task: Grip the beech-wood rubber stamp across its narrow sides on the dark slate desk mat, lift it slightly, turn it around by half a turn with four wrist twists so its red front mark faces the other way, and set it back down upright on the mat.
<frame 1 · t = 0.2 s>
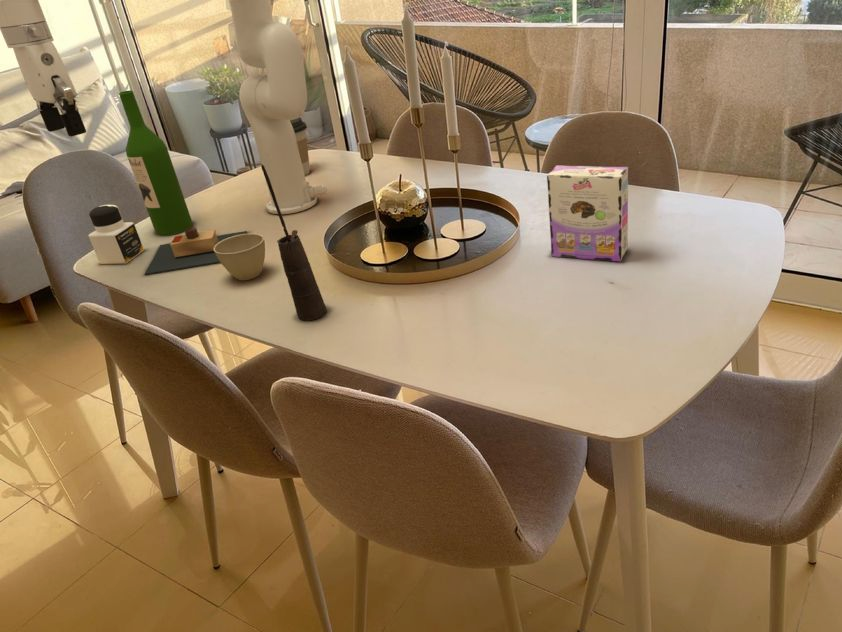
hand: (67, 132, 133), 31 cm above the table, tool pointing down, fingers open, 9 cm apart
stamp: (194, 240, 154), on the desk mat
candy box: (589, 254, 134), on the table
wine bottle: (174, 229, 171), on the table
desk mat: (198, 252, 156), on the table
beige bowl: (248, 275, 143), on the table
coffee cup: (297, 174, 199), on the table
medicine bottle: (122, 258, 159), on the table
butter churn: (314, 311, 126), on the table
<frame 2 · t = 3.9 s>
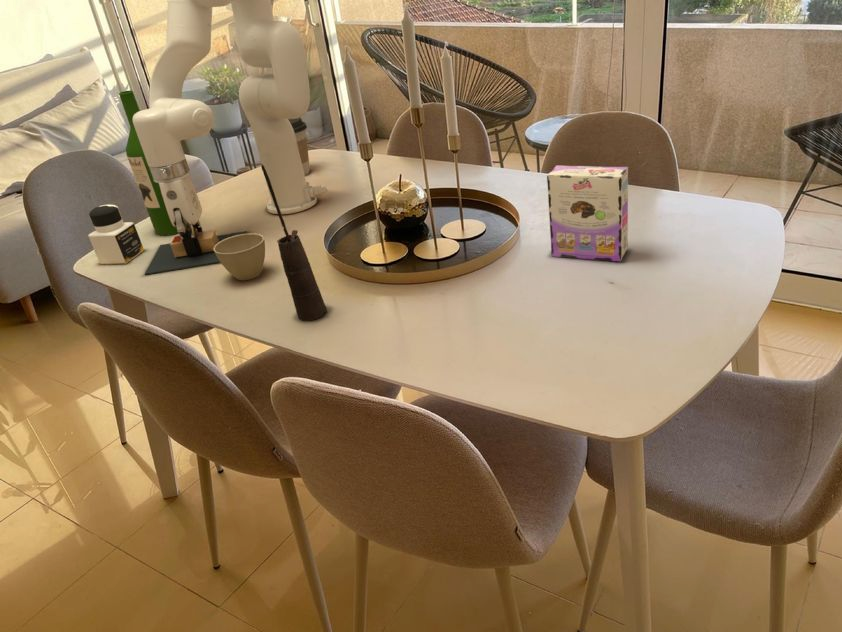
hand: (197, 248, 155), 1 cm above the table, tool pointing down, fingers closed on stamp, 5 cm apart
stamp: (194, 240, 154), on the desk mat, touching gripper
everything else where it was.
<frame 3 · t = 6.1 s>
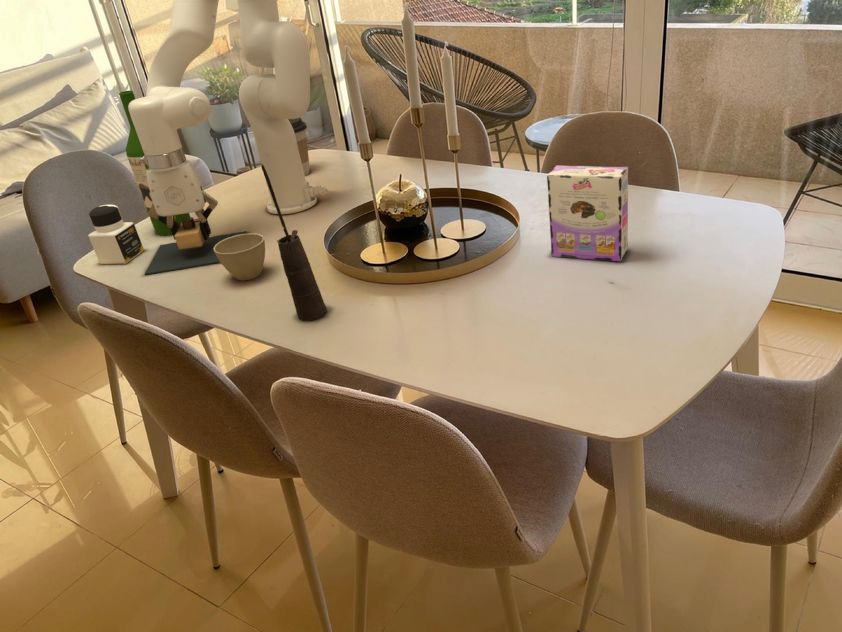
hand: (194, 238, 154), 3 cm above the table, tool pointing down, fingers closed on stamp, 5 cm apart
stamp: (191, 230, 153), point 5 cm above the table, touching gripper
everything else where it was.
when the fingers open (1 cm above the table, at t = 8.5 s): stamp stays where it is, resting on desk mat.
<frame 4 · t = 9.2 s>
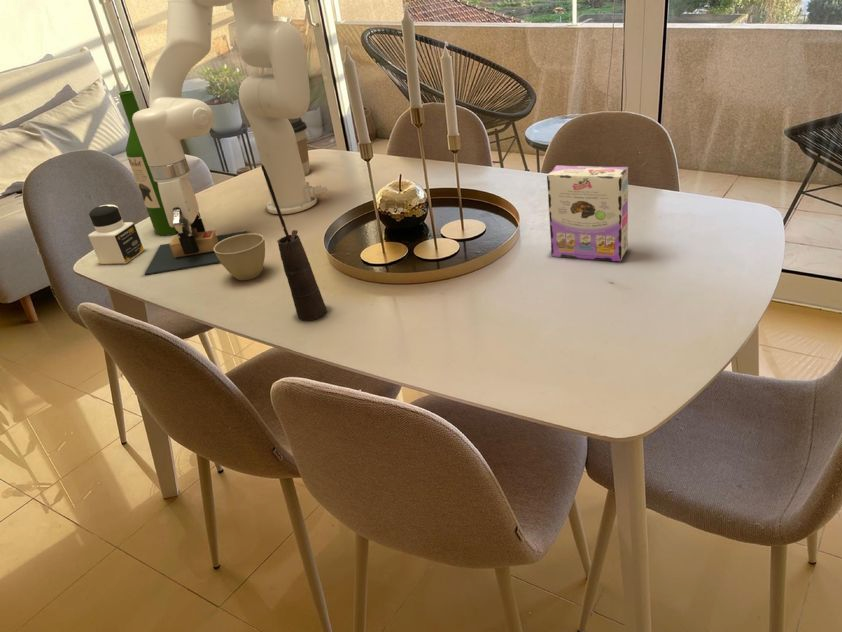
hand: (195, 244, 155), 2 cm above the table, tool pointing down, fingers open, 9 cm apart
stamp: (193, 240, 154), on the desk mat
everything else where it was.
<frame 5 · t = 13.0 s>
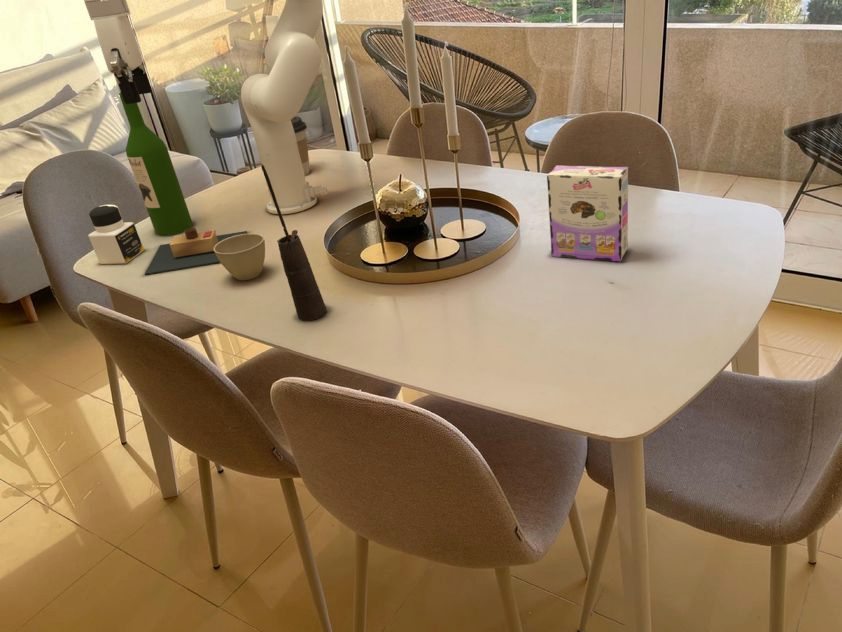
hand: (139, 98, 147), 32 cm above the table, tool pointing down, fingers open, 9 cm apart
nothing on the table moved.
at the end: stamp tilted 0°; stamp inside the target area (0.1 cm from its centre), resting on desk mat; the gripper is holding nothing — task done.
